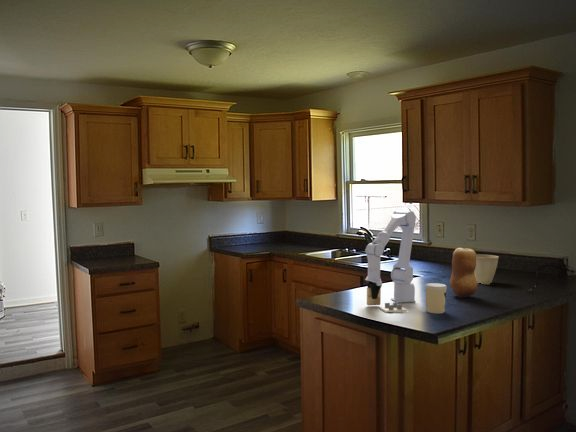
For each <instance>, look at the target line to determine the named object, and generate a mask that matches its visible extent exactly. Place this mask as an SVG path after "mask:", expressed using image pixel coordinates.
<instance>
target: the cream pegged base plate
mask: <svg viewBox="0 0 576 432" xmlns="http://www.w3.org/2000/svg"><path fill="white" fill-rule="evenodd" d="M380 309H381V310H380ZM379 310H380V311H383V312H384V313H385V312H386V314H388V313H387V312H393V313H407V312H408V309H407V308H405V307H404V306H403V304H399V302H393V304H390V302H385V303H384V306H380V307H379Z"/></svg>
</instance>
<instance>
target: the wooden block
mask: <svg viewBox="0 0 576 432" xmlns="http://www.w3.org/2000/svg"><path fill="white" fill-rule="evenodd" d="M381 289H382V287H381V288H380V290H379V293H378V297H377V299H372V293H371V288H368V287H366V305H367V306H368V307H369V306H381V304H382V303H381V298H382V297H381V292H382V290H381Z"/></svg>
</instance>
